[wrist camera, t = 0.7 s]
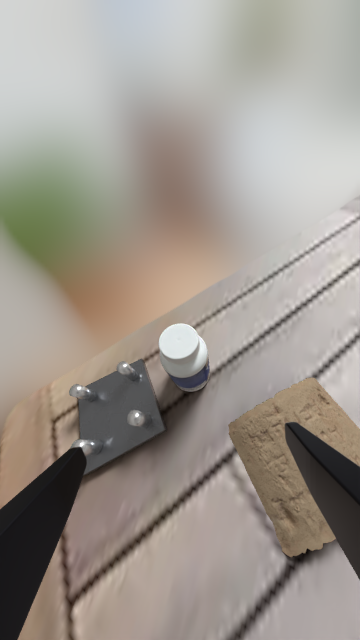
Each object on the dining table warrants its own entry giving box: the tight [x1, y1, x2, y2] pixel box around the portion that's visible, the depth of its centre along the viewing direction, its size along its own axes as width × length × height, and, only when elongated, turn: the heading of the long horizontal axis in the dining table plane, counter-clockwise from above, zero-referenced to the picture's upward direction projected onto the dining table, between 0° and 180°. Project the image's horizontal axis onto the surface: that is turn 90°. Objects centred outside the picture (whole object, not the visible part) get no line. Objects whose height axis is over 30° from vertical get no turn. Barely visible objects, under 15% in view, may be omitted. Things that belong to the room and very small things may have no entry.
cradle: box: [69, 359, 167, 475], centre depth 21 cm, size 10×10×5 cm
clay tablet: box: [228, 378, 360, 557], centre depth 17 cm, size 14×10×3 cm
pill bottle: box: [159, 324, 210, 392], centre depth 20 cm, size 5×5×10 cm
